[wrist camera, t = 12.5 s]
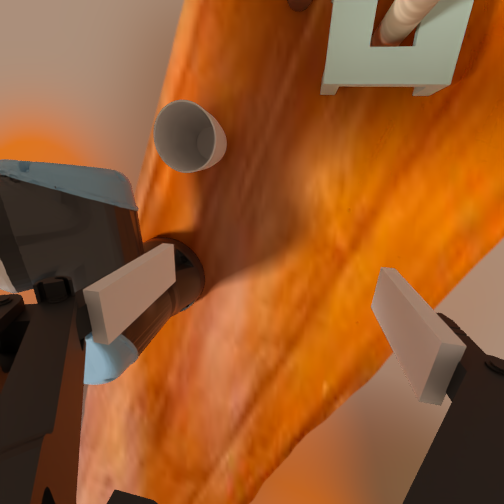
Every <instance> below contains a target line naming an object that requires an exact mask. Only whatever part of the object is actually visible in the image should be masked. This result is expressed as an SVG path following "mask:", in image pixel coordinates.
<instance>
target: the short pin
mask: <svg viewBox="0 0 504 504" xmlns="http://www.w3.org/2000/svg"><path fill="white" fill-rule="evenodd" d="M287 1H288V4H289V6H290V8H291V9H292V10H294V11H303V10H305V9H306V8H308V6H309V5H310V4H311V2H312V0H287Z"/></svg>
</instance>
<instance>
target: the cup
mask: <svg viewBox="0 0 504 504" xmlns="http://www.w3.org/2000/svg"><path fill="white" fill-rule="evenodd" d="M154 142H155V146H156V149H157V151H158V153H159V155H160V157H161V158H162V160H163V161H164V162H165V163H166V164H167V165H168V166H170V167H171V168H172V169H174V170H176V171H179V172H183V173H192V172H196V171H200V170H204V169H207V168H210V167H211V166H213V165H214V164H216V163H217V162H219V161H220V160H221V159H222V157H223V156H224V154H225V151H226V147H227V140H226V135H225V132H224V130H223V129H222V127H221V126H220V124H219V123H218V121H217V120H216V119H215V118H214V117H213V116H212V115H211V114H210V113H208V112H207V111H206V110H204V109H203V108H202V107H201V106H199V105H198V104H196V103H194V102H192V101H188V100H177V101H173V102H171V103H169V104H167V105H166V106H165V107H164V108H163V109H162V110H161V111H160V113H159V114H158V116H157V118H156V121H155V125H154Z"/></svg>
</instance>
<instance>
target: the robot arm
mask: <svg viewBox="0 0 504 504" xmlns="http://www.w3.org/2000/svg"><path fill="white" fill-rule="evenodd" d="M137 211H138V207H137V206H136V203H135V199H134V195H133V191H132V186H131V183H130V181H129V179H128V178H127V177H126V176H125V175H124V174H122V173H121V172H118V171H115V170H110V169H103V168H95V167H86V166H76V165H66V164H56V163H44V162H30V161H17V160H0V289H2V290H5V291H8V292H11V293H19V292H22V291H26V290H30V289H34V292H35V295H36V299H37V302H38V303H37V304H24V301H23V298H22V296H21V295H18V294H9V295H0V504H76V491H77V476H78V461H79V446H80V431H81V415H82V400H83V386H84V384H91V385H99V384H105V383H108V382H111V381H113V380H115V379H116V378H118V377H119V376H120V375H121V374H122V373H123V372H124V371H125V370H126V369H127V368H128V367H129V366H130V364H132V363H134V362H135V361H136V360H137V358H138V356H139V355H140V354H141V353H142V351H143V350H144V349H145V348H146V347H147V345H148V344H149V343H150V342H151V340H152V339H153V338H154V337H155V335H156V334H157V333H158V332H159V330H160V329H161V328H162V327H163V325H164V324H165V323H166V322H167V320H168V319H169V318H170V317H171V316H173V315H175V314H177V313H179V312H181V311H183V310H185V309H187V308H189V307H190V306H191V305H192V304H194V302H195V301H196V300H197V299H198V297H199V296H200V294H201V293H202V290H203V288H204V282H205V276H204V271H203V267H202V265H201V263H200V261H199V259H198V257H197V256H196V255H195V253H194V252H193V251H192V250H191V249H190V248H188V247H187V246H186V245H184V244H183V243H181V242H179V241H177V240H174V239H171V238H165V237H159V238H153V239H150V240H148V241H146V242H144V243H143V242H142V236H141V231H140V225H139V219H138V213H137ZM371 308H372V310H373V312H374V314H375V316H376V318H377V320H378V322H379V324H380V326H381V328H382V330H383V332H384V334H385V336H386V338H387V340H388V342H389V344H390V346H391V348H392V350H393V352H394V354H395V355H396V358H397V359H398V361H399V363H400V365H401V367H402V369H403V371H404V373H405V375H406V377H407V379H408V381H409V383H410V385H411V387H412V389H413V391H414V393H415V395H416V397H417V399H418V401H419V402H424V403H430V404H435V405H441V404H442V402H443V400H444V397H445V395H446V393H447V395H448V396H449V398H450V399H451V401H452V403H451V405H450V407H449V409H448V412H447V414H446V416H445V418H444V420H443V422H442V424H441V426H440V428H439V430H438V432H437V434H436V436H435V438H434V440H433V443H432V444H431V446H430V449H429V451H428V453H427V455H426V457H425V459H424V461H423V463H422V465H421V467H420V469H419V471H418V473H417V475H416V477H415V479H414V481H413V483H412V485H411V487H410V489H409V492H408V493H407V496H406V498H405V500H404V502H403V504H504V360H502V359H499V358H497V357H494V356H491V355H486V354H485V353H484V352H483V351H482V350H481V349H480V348H479V347H478V346H477V345H476V344H475V343H474V342H473V340H471V339H470V337H469V336H467V335H466V333H465V332H464V331H462V330H460V327H458V325H457V324H456V323H455V322H453V320H451V319H449V318H448V317H446V316H445V315H443V314H442V313H436V312H435V311H434V310H433V309H432V308H431V307H430V306H429V305H428V304H427V303H426V302H425V301H424V299H423V298H422V297H421V296H420V295H419V294H418V293H417V292H416V291H415V290H414V289H413V288H412V286H411V285H410V284H409V283H408V282H407V281H406V280H405V279H404V278H403V277H402V276H401V275H400V273H399V272H398V271H397V270H396V269H395V268H386V267H381V269H380V273H379V277H378V281H377V285H376V289H375V293H374V297H373V301H372V305H371ZM107 504H158V503H156V502H155V501H154V500H151V499H147V498H144V497H140V496H137V495H133V494H129V493H126V492H122V491H119V490H114V492H113V494H112V495H111V497H110V499H109V501H108V502H107Z"/></svg>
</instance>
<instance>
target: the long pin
mask: <svg viewBox="0 0 504 504" xmlns="http://www.w3.org/2000/svg"><path fill="white" fill-rule="evenodd" d="M439 1H440V0H394V2H393V4H392V5H391V7H390V8H389V10H388V12H387V13H386V15H385V16H384V18H383V20H382V21H381V23H380V24H379V26H378V28H377V29H376V31H375V32H374V34H373V36H372V39H371V47H397V46H399V45H400V44H401V42H402V41H403V40H404V39H405V38H406V37H407V36H408V35H409V34H410V33H411V31H412V30H413V29H414V28H415V27H416V26H417V25H418V24H419V23H420V22H421V20H422V19H423V18H424V17H425V16H426V15H427V14H428V13H429V12H430V11H431V9H432V8H433V7H434V6H435V5H436V4H437V3H438V2H439Z"/></svg>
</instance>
